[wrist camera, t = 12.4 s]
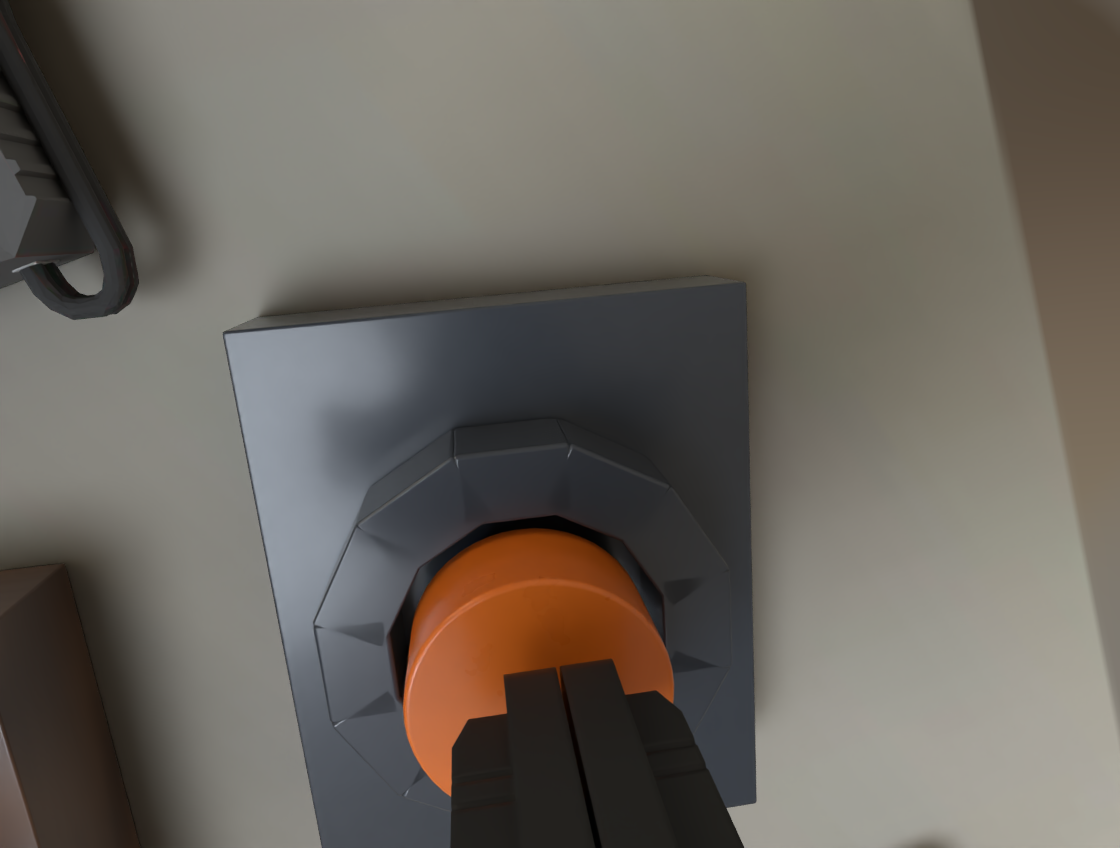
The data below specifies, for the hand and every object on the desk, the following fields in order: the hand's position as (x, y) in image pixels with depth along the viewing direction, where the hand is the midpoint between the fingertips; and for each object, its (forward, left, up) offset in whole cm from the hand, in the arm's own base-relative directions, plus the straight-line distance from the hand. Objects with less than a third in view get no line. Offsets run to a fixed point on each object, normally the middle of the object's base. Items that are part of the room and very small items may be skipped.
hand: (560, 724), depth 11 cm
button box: (0, 0, -6) cm, 6 cm away
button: (0, 0, -3) cm, 3 cm away
